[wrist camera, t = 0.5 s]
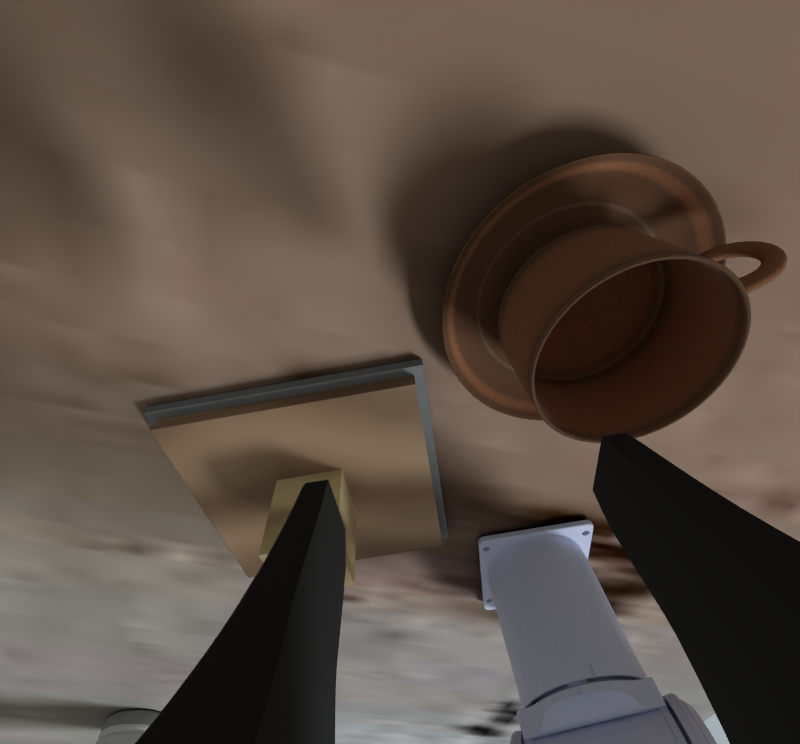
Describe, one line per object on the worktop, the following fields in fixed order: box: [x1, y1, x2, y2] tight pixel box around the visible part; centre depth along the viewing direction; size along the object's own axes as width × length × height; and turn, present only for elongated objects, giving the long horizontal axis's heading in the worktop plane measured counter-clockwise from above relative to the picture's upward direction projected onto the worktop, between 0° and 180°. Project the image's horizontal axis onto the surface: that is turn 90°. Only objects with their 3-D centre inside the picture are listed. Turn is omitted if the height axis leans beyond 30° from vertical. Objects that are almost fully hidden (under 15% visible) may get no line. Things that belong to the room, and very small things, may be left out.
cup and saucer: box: [442, 153, 787, 443], centre depth 16 cm, size 12×12×6 cm
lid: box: [150, 375, 443, 587], centre depth 21 cm, size 13×13×5 cm
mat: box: [143, 359, 449, 539], centre depth 23 cm, size 14×14×1 cm
